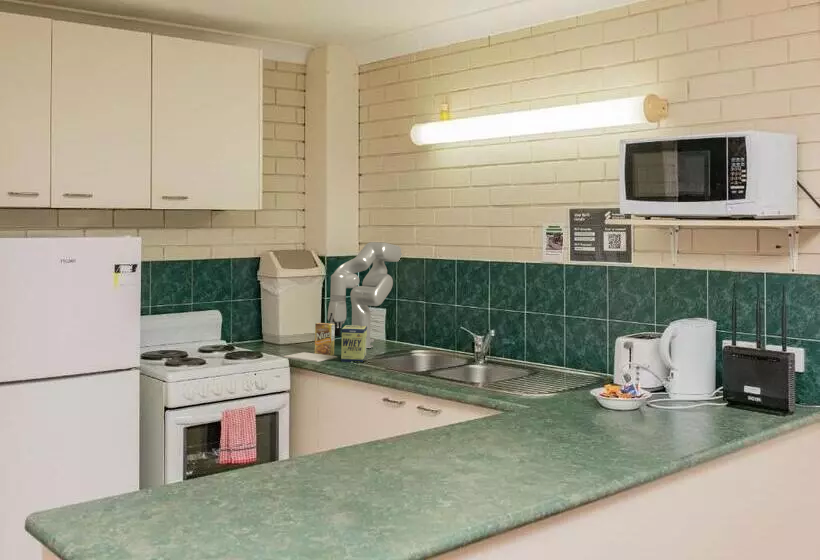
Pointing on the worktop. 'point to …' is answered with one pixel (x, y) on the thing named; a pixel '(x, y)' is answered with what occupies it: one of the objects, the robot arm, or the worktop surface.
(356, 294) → the robot arm
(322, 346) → the candy box
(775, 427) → the worktop surface
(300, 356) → the mat
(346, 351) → the protein box
